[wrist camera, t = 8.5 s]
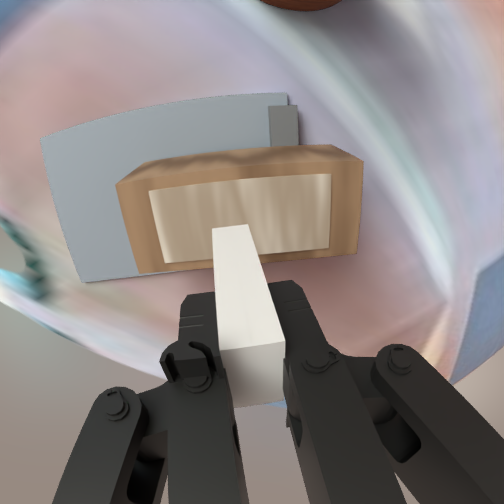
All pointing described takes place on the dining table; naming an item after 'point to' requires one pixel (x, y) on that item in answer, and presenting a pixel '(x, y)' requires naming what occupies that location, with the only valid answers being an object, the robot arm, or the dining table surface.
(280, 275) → the dining table surface
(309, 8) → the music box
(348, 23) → the dining table surface
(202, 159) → the brown rectangular block
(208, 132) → the mat
